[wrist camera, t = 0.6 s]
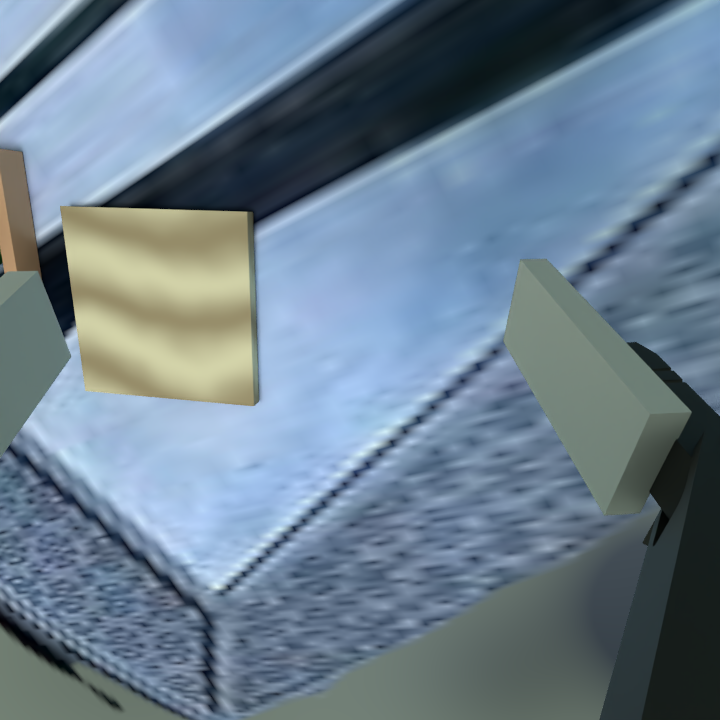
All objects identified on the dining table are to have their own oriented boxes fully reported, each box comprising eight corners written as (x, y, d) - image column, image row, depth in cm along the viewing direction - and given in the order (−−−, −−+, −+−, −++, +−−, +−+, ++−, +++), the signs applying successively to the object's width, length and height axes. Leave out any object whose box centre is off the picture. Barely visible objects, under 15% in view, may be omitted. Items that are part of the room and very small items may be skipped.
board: (70, 206, 42) (60, 206, 40) (252, 211, 39) (247, 211, 38) (94, 386, 46) (85, 390, 45) (258, 401, 44) (253, 406, 43)
